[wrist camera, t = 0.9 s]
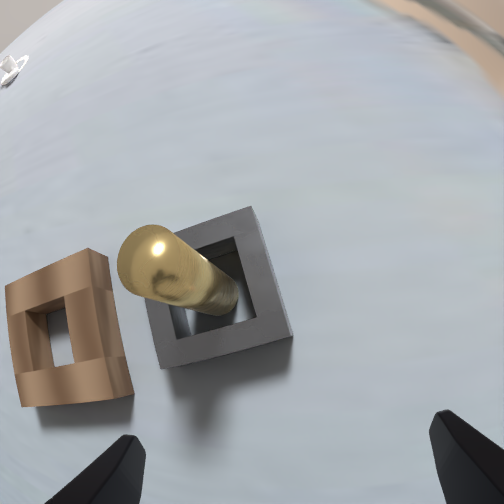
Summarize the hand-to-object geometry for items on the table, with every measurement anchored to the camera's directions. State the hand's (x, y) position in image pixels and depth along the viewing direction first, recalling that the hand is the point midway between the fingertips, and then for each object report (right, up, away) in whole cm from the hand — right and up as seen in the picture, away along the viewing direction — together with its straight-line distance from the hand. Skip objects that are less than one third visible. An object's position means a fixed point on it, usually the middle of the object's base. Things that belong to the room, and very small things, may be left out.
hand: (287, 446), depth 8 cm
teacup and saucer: (-51, +40, +36) cm, 74 cm away
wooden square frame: (-18, -2, +18) cm, 25 cm away
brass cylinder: (-4, +2, +16) cm, 17 cm away
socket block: (-4, +2, +16) cm, 17 cm away
